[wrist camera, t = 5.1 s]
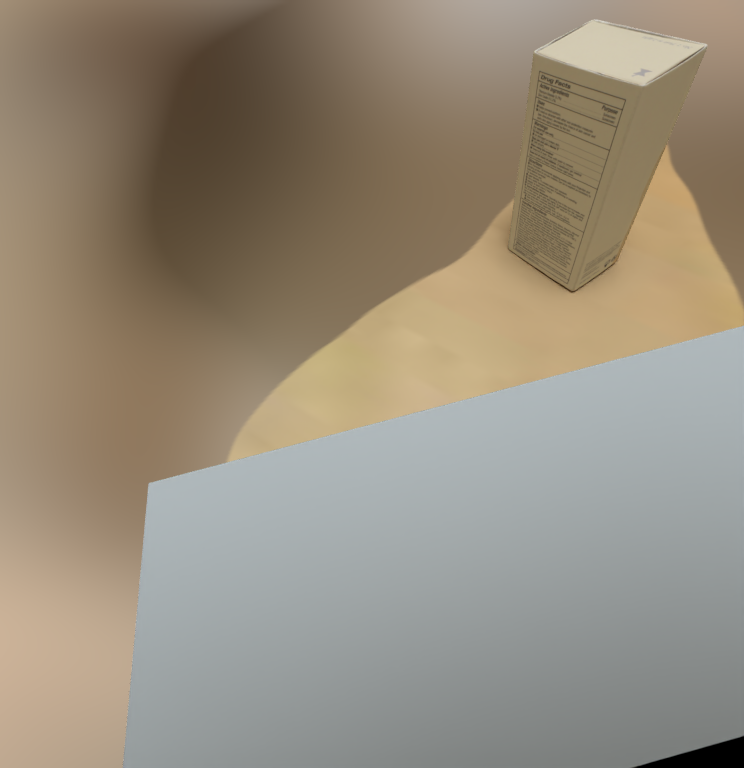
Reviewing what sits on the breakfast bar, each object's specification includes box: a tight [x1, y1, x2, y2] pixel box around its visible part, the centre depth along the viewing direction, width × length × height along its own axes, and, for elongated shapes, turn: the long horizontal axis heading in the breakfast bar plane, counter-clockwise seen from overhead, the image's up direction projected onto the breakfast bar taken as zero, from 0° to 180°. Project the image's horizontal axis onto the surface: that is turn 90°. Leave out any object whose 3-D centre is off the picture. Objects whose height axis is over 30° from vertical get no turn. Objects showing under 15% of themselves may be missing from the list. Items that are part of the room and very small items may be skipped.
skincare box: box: [508, 20, 707, 291], centre depth 24 cm, size 6×4×12 cm
